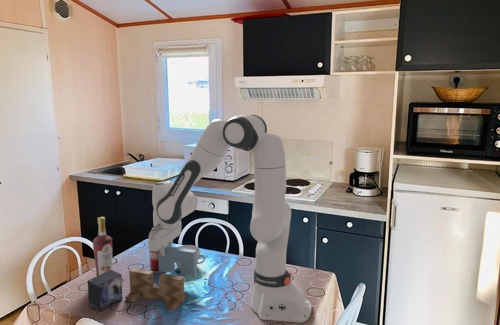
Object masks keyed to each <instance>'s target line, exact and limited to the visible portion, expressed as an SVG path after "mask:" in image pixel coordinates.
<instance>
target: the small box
mask: <svg viewBox="0 0 500 325" xmlns="http://www.w3.org/2000/svg"><path fill="white" fill-rule="evenodd" d="M122 279H123V278H122V273H120V272H117V271H115V270H113V269H112V270H110V271H108V272H105V273H103V274H101V275H99V276H97V275H96V276H95V277H92V278H90V279H88V280H87V282H86V283H87V294H88V308H90V309H92V310H93V311H97V312H99V313H100V312H101V311H104V310H105V309H107V308H108V307H110V306H112V305H115V304H116V303H118V302H120V301H122V300H123V280H122Z"/></svg>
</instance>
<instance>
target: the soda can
mask: <svg viewBox="0 0 500 325" xmlns="http://www.w3.org/2000/svg"><path fill="white" fill-rule="evenodd" d="M165 246H167V244H166V245H165ZM148 251H149V271H153V273H162V272H163V271H159V261H158V251H150V250H149V249H148ZM163 273H164V272H163Z"/></svg>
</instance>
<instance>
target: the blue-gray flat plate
mask: <svg viewBox="0 0 500 325" xmlns="http://www.w3.org/2000/svg"><path fill="white" fill-rule="evenodd" d="M165 250H166V251H167V252H166V253H167V254H166V255H165V256H162V255H161V251H160V250H158V261H159V271H163V273H165V272H166V273H171V274H172V273H173V272H175V270H176V268H175V267H176V263H175V261H178V262H180V264H181V269H180V275H185V276H191V277H195V276H196V275H198V264H197V253H196V250H192V249H184V248H176V247H175V246H171V247H169V246H167V245H166V246H165Z"/></svg>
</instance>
